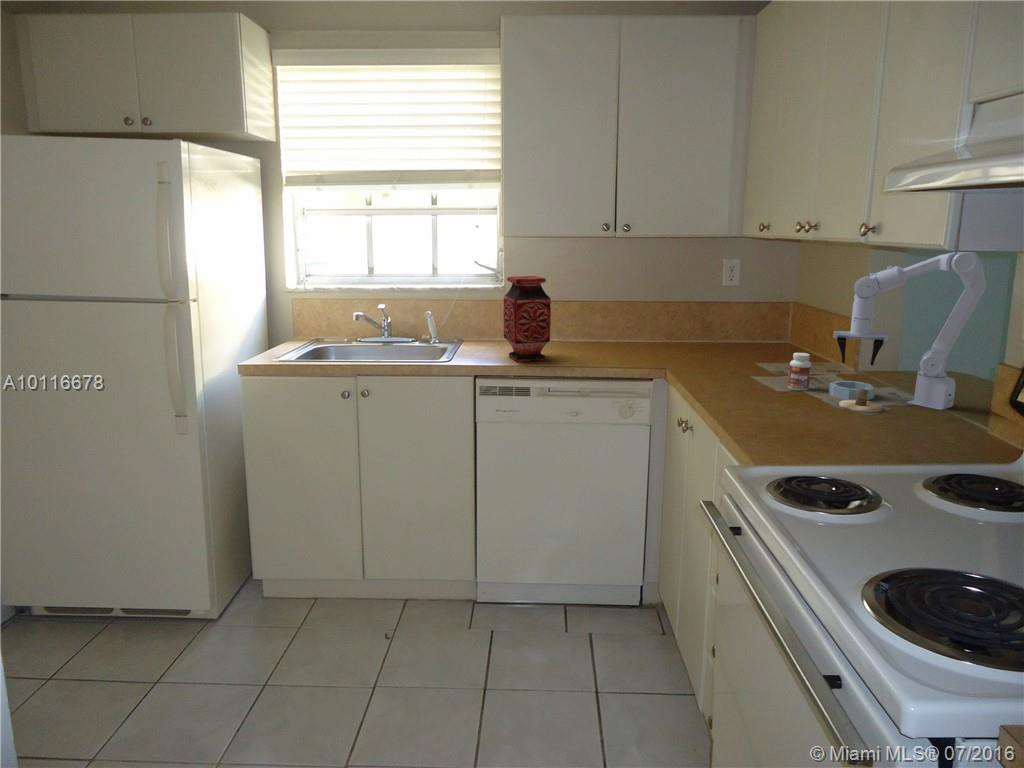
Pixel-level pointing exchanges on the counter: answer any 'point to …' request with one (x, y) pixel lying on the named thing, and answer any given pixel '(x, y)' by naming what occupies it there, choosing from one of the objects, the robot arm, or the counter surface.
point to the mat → (861, 412)
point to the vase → (527, 318)
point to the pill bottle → (799, 372)
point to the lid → (861, 403)
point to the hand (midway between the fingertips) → (857, 363)
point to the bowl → (850, 389)
